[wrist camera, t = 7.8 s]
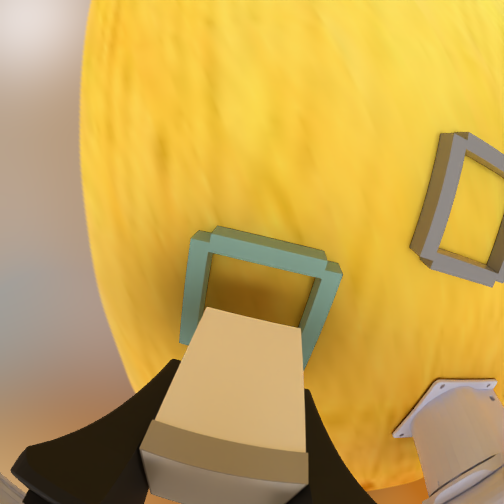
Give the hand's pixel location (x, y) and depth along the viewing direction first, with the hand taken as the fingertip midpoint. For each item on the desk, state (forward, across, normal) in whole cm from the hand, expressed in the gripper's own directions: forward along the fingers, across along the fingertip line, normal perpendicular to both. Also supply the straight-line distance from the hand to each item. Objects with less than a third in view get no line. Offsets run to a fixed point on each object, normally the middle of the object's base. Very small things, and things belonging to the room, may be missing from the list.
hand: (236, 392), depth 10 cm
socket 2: (+7, -12, -9) cm, 17 cm away
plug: (+2, 0, 0) cm, 2 cm away
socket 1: (+7, 0, 0) cm, 7 cm away
